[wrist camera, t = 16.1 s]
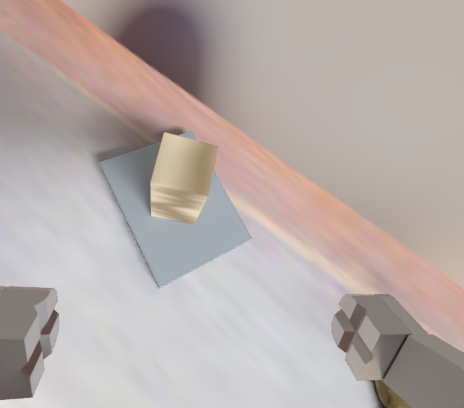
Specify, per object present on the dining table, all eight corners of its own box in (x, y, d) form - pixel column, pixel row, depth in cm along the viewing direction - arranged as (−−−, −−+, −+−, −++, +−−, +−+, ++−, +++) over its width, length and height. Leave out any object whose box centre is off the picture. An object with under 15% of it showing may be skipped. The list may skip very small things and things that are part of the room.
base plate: (103, 173, 38) (99, 162, 35) (188, 142, 42) (191, 130, 39) (159, 289, 35) (159, 287, 32) (244, 243, 39) (251, 237, 36)
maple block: (150, 216, 34) (150, 181, 25) (161, 177, 36) (164, 132, 27) (193, 225, 35) (208, 195, 26) (201, 186, 37) (217, 146, 28)
